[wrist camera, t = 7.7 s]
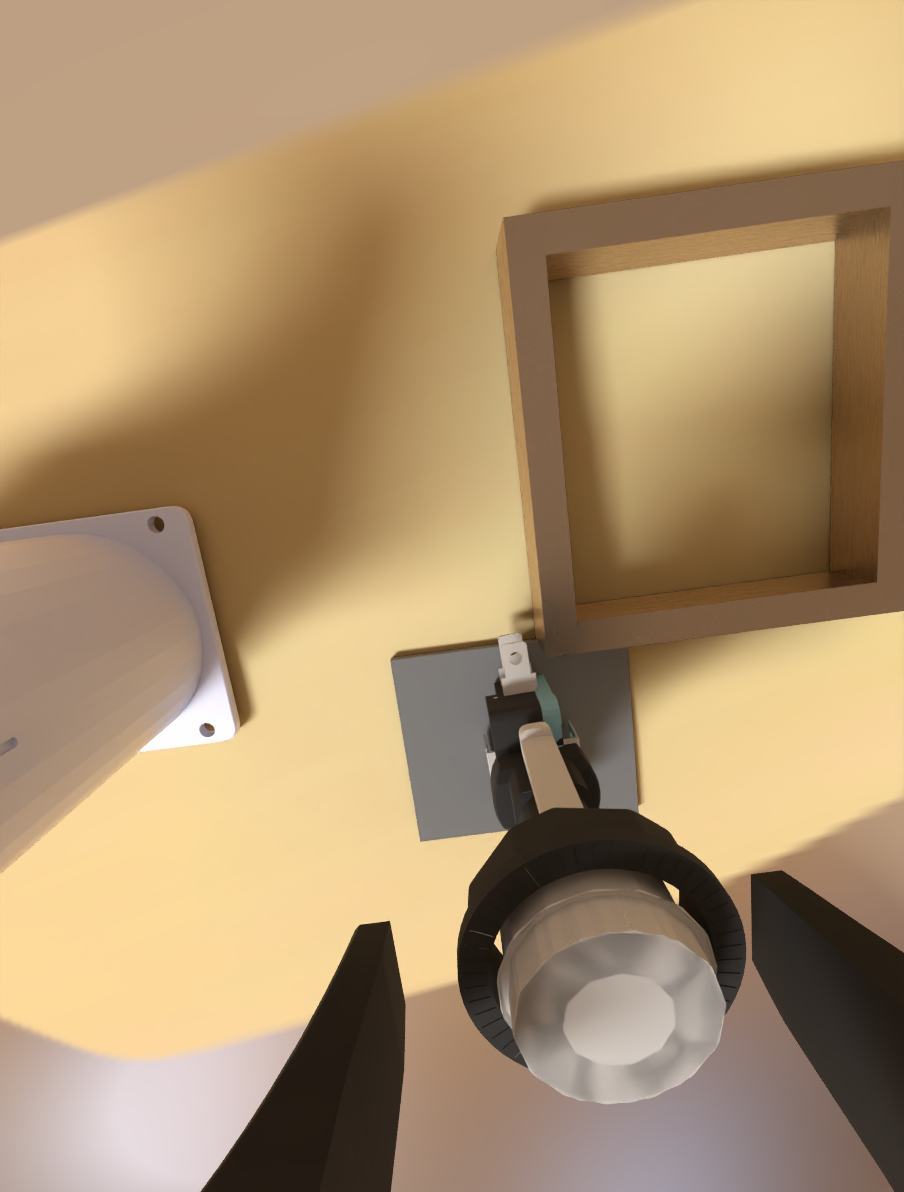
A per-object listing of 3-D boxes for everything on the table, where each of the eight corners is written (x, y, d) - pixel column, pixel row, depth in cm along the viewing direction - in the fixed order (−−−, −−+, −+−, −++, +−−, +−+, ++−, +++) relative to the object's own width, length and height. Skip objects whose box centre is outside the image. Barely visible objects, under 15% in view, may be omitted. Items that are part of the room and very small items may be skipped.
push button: (431, 642, 18) (415, 838, 8) (588, 615, 18) (767, 779, 8) (465, 816, 19) (486, 1164, 9) (611, 792, 19) (786, 1117, 9)
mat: (420, 836, 20) (420, 841, 19) (391, 657, 18) (390, 660, 18) (635, 809, 20) (638, 813, 19) (623, 627, 18) (626, 629, 18)
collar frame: (536, 638, 18) (547, 657, 16) (495, 250, 16) (503, 217, 14) (858, 596, 18) (909, 610, 16) (870, 197, 16) (931, 156, 14)
